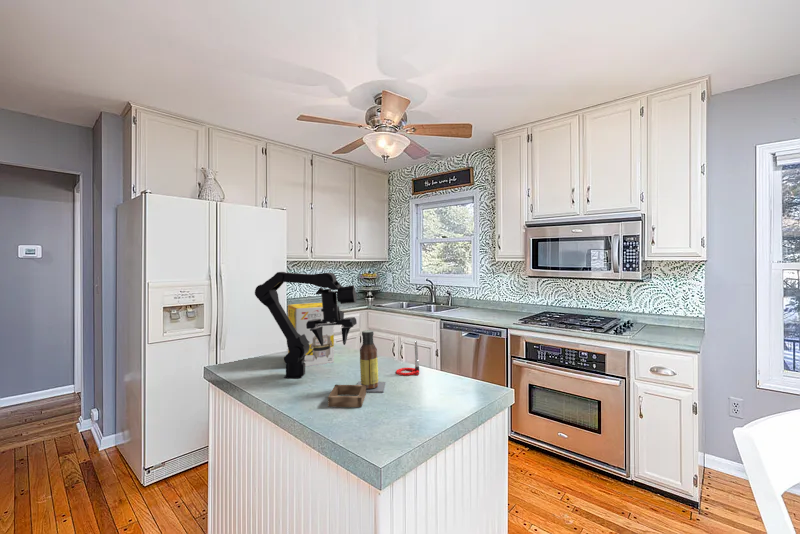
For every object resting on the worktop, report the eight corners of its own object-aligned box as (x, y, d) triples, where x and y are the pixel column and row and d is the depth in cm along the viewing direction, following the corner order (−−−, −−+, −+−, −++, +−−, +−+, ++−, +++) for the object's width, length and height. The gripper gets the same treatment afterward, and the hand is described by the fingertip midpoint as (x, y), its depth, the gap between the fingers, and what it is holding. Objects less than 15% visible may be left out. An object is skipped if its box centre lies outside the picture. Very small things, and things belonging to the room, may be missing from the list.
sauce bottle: (378, 383, 134) (378, 329, 134) (378, 389, 128) (378, 332, 128) (359, 384, 134) (359, 329, 133) (359, 390, 128) (359, 332, 127)
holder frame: (327, 406, 114) (327, 397, 114) (335, 393, 126) (335, 384, 126) (361, 407, 114) (361, 397, 114) (366, 393, 125) (366, 385, 125)
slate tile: (354, 392, 127) (354, 390, 127) (358, 382, 137) (358, 381, 137) (383, 392, 127) (383, 391, 127) (385, 383, 137) (385, 381, 137)
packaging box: (296, 367, 156) (296, 308, 155) (288, 358, 170) (287, 304, 170) (333, 362, 164) (333, 306, 163) (322, 354, 178) (322, 302, 177)
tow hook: (395, 377, 145) (419, 376, 145) (394, 344, 145) (417, 343, 145) (396, 370, 154) (419, 370, 153) (395, 339, 154) (417, 338, 153)
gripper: (359, 301, 149) (362, 339, 149) (316, 303, 153) (320, 341, 153) (349, 304, 138) (353, 346, 138) (303, 307, 142) (307, 347, 142)
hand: (333, 345), depth 143 cm, fingers open, 9 cm apart
